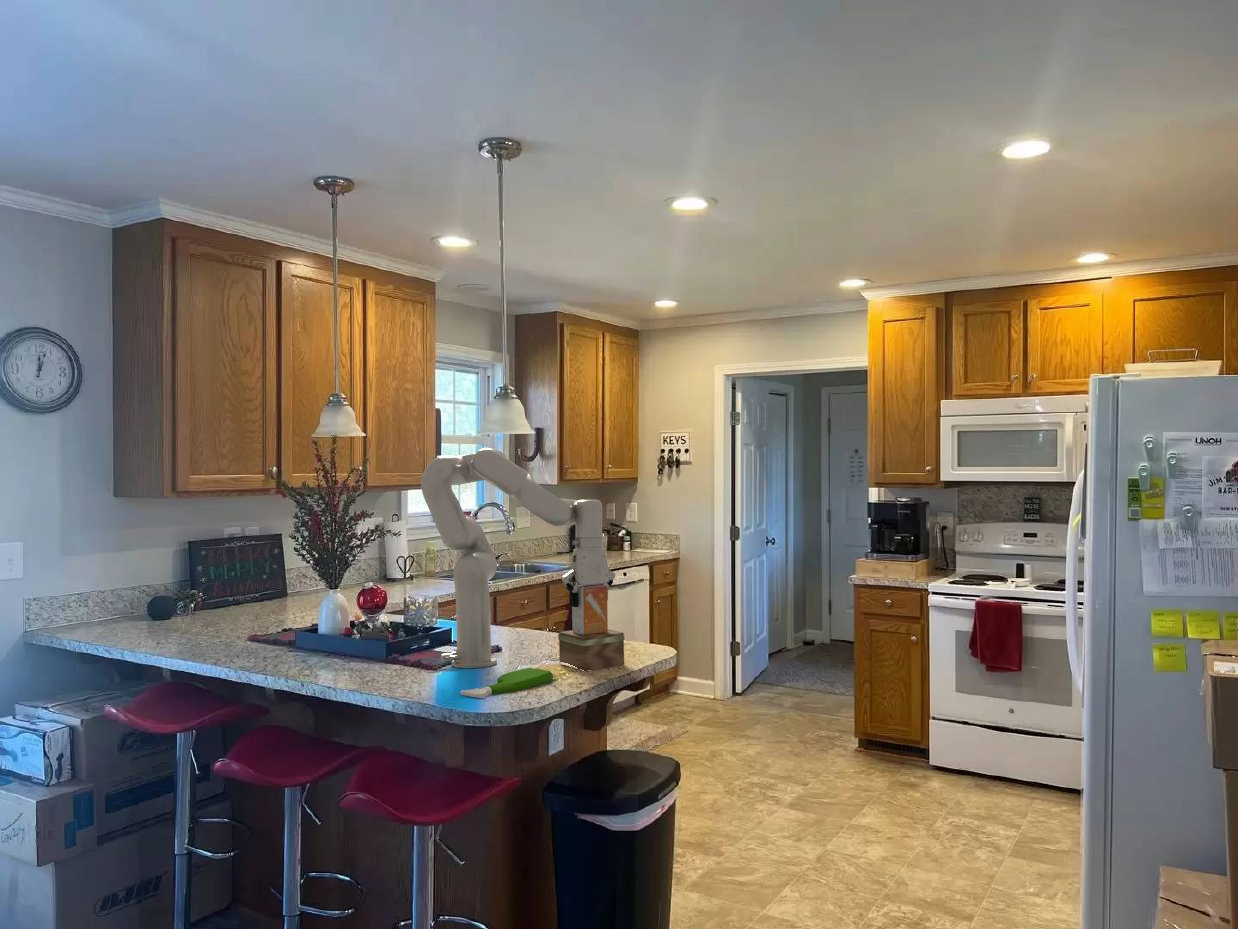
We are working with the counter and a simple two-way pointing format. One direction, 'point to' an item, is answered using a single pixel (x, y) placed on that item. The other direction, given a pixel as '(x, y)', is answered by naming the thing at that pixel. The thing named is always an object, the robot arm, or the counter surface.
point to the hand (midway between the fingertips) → (588, 605)
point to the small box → (590, 610)
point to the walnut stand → (592, 649)
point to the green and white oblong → (513, 682)
